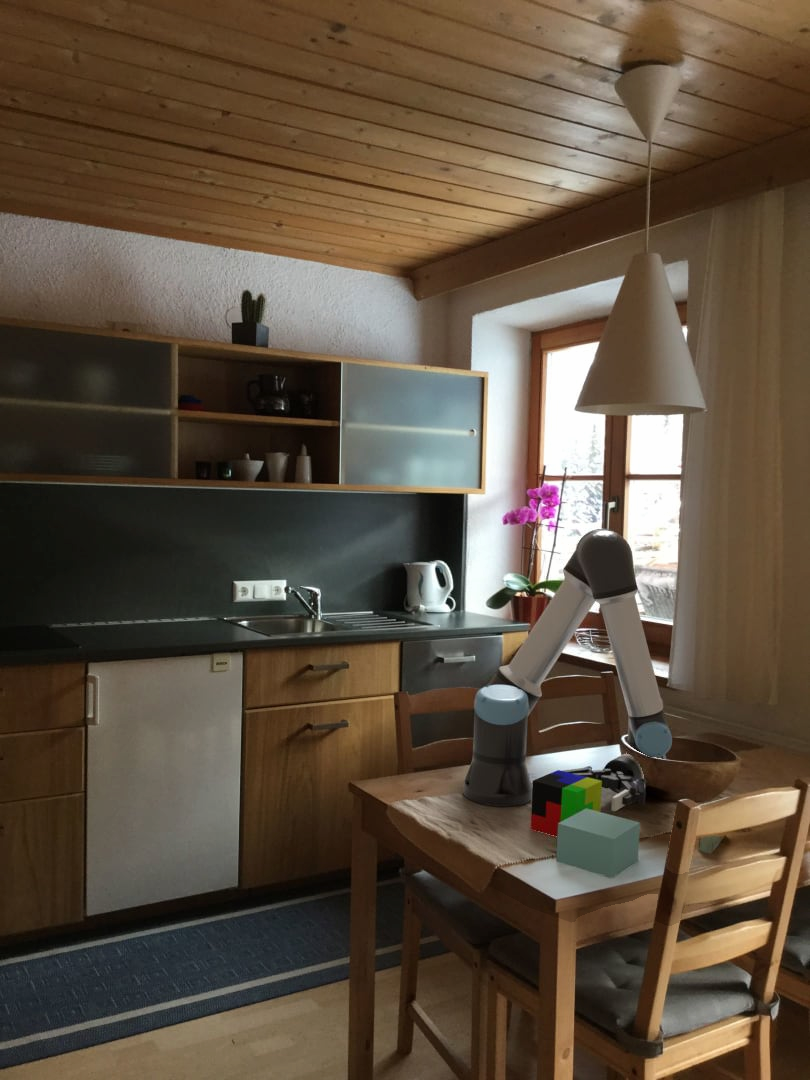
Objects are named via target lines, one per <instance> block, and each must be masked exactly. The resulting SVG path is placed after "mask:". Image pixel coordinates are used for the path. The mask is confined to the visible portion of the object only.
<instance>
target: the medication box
mask: <svg viewBox="0 0 810 1080" xmlns="http://www.w3.org/2000/svg"><path fill="white" fill-rule="evenodd" d="M725 836H726V834H725V835H723V836H712V837H704V838H700V837H699V838H698V839H699V840H698V852H701V853H705V854H710V855H711V854H713V852H714V851H715V849H716V848H717V847H718V846H719V844H720V843H721V841H722V840H723V839H724V838H725Z"/></svg>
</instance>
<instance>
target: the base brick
mask: <svg viewBox="0 0 810 1080" xmlns="http://www.w3.org/2000/svg"><path fill="white" fill-rule="evenodd" d="M640 829H641V822H639V821H635V820H631V819H628V818H623V817H620V816H616V815H613V814H609V813H605V812H601V811H600V812H598V811H594V810H590V809H584V810H582V811H580V812H578V813H576V814H575V815H573V816H571V817H569V818H567V819H565V820H564V821H562V822H560V823H558V838H557V837H556V839H557V840H556V841H557V843H556V862H559V863H563V864H565V865H569V866H571V867H575V868H579V869H581V870H584V871H588V872H591V873H594V874H598V875H601V876H604V877H607V878H609V879H610V878H611V879H613V878H614V877H616V876H617V875H618V874H620V873H621V872H622V871H624V870H626V869H627V868H628V867H630V866H631V865H633V864H634V863H636V862H637V861H638V860H639V849H640V847H639V846H640V831H641V830H640Z"/></svg>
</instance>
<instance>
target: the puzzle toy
mask: <svg viewBox="0 0 810 1080" xmlns="http://www.w3.org/2000/svg"><path fill="white" fill-rule="evenodd" d="M602 789H603V787H602V781H600V780H596V779H592V778H588V777H584V776H580V775H576V774H572V773H568V772H564V771H563V770H560V769H557V770H555V771H552V772H550V773H548V774H545V775H543V776H541V777H538V778H536V779H533V780H532V799H531V811H530V812H531V813H530V830H531V829H532V830H531V831H534V830H536V831H535V832H537V831H540V832H543V833H542V834H544V833H547V834H550V835H554V836H557V837H558V823H560V822H562V821H564V820H565V819H567V818H569V817H571V816H573V815H575V814H576V813H578V812H580V811H582V810H584V809H590V810H594V811H598V812H601V810H602V809H601V805H602ZM540 832H539V833H540ZM547 834H546V835H547ZM550 835H549V836H550ZM554 836H553V837H554ZM557 837H556V838H557Z"/></svg>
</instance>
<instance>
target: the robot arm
mask: <svg viewBox="0 0 810 1080" xmlns="http://www.w3.org/2000/svg"><path fill="white" fill-rule="evenodd" d="M562 570H563V571H562V572H563V577H564V579H563V581H562V582H561V584H560V586H559V587H558V588H557V590H556V592H555V593H554V595H553V597H552V598H551V599H550V601H549V603H548V604H547V606H546V607H545V609H544V610H543V612H542V613H541V615H540V616H539V618H538V620H536V622H535V624H534V626H533V627H532V629H531V631H530V632H529V633H528V634H527V636H526V638H525V640H524V641H523V643H522V644H521V645H520V647H519V649H518V651H517V652H516V653H515V655H514V657H512V659H511V661H510V663H509V664H506V665H503V666H499V668H497V671H496V672H495V674H494V675H493V677H492V678H491V679H490V682H488V683H487V685H485V686H483V687H481V688H480V689H479V690H477V691H476V693H475V697H474V698H475V699H474V701H473V709H474V719H473V721H474V722H473V723H474V724H473V741H472V742H473V743H472V745H473V747H472V758H471V759H472V760H471V763H470V766H469V768H468V770H467V774H466V775H465V779H464V781H463V788H462V791H463V792H462V793H463V795H464V797H465V798H467V799H468V800H470V801H472V802H475V803H478V804H481V805H485V806H495V807H516V806H522V805H524V804H528V803H529V802H531V801H532V786H533V784H532V782H531V779H530V778H531V777H530V774H529V771H528V767H527V762H526V756H527V742H528V741H527V739H528V738H527V737H528V721H529V720H528V717H529V715H530V714H531V712H532V711H533V709H534V708H535V706H536V704H537V703H538V701H539V700H540V698H541V697H542V695H543V693H542V689H541V685H542V684H543V682H544V680H545V679H546V677H547V676H548V675H549V673H550V672H551V670H552V669H553V667H554V665H555V664H556V662H557V660H558V659H559V658H560V656H561V654H562V653H563V651H564V650H565V649H566V647H567V645H568V643H569V642H570V641H571V639H572V638H573V636H574V634H575V633H576V632H577V630H578V628H579V627H580V625H581V624H582V622H584V619H585V618H586V617H587V615H588V613H589V612H590V610H591V609H592V607H593V606H594V605H595V603H598V605H600V610H601V613H602V617H603V621H604V624H605V625H604V626H605V629H606V633H607V637H608V640H609V645H610V649H611V652H612V653H611V654H612V656H613V660H614V663H615V669H616V671H617V676H618V680H619V683H620V687H621V690H622V694H623V698H624V703H625V706H626V710H627V714H628V725H627V728H628V729H627V742H626V743H628V744H629V745H630V746H631V747H633V748H634V749H636V750H637V751H639V752H641V753H643V754H645V755H647V756H649V757H657V758H662V759H666V760H667V756H666V754H667V753H668V752H669V751H670V749H671V748H672V743H673V737H672V732H671V730H670V728H669V725H668V722H667V721H668V720H667V718H666V713H665V710H664V701H663V698H662V697H661V693H660V691H659V685H658V680H657V677H656V675H655V670H654V666H653V662H652V658H651V654H650V651H649V647H648V643H647V638H646V635H645V632H644V631H645V630H644V627H643V623H642V619H641V615H640V610H639V606H638V602H637V599H636V594H637V593H638V591H639V587H638V585H637V579H636V574H635V573H636V572H635V567H634V559H633V550H632V549H631V545H630V544H629V543H628V541H627V540H626V539H625V538H624V537H623V536H622V535H620V534H619V533H618V532H616V531H613V530H612V529H609V528H608V529H607V528H596V529H593V530H591V531H588V532H586V533H585V534H584V535H583V536H582V537H581V538H580V539H579V540H578V542H577V544H576V548H575V550H574V552H573V553H572V554H571V556H570V558H569V559H568V561H567V563H566V564H565V566H564V567H563V569H562ZM625 753H626V754H625ZM625 753H623V754H622V755H619V756H617V757H615V758H614V759H611V760H610V761H608V762H607V763H606V764H605V766H604V767H603V768H602V769H597V770H596V769H595V770H593V766H590V765H588V766H585V767H580V768H572V769H566V770H565V769H564V770H562V771H564V772H568V773H572V774H576V775H580V776H584V777H588V778H592V779H596V780H600V781H602V788H604V789H609V790H611V791H612V792H614V793H616V794H615V795H614V796H612V797H611V808H610V809H611V811H613V812H616V811H618V810H619V809H621V808H623V807H625V806H629V805H631V804H636V803H637V802H638V804H639V805H642V806H644V805H645V804H646V795H647V793H646V783H647V782H646V780H645V779H644V774H643V771H642V768H641V767H640V764H639V763H638V761H637V760H636V759H635V758H634V757H633V756H632V755H630V754H627V752H625Z"/></svg>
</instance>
